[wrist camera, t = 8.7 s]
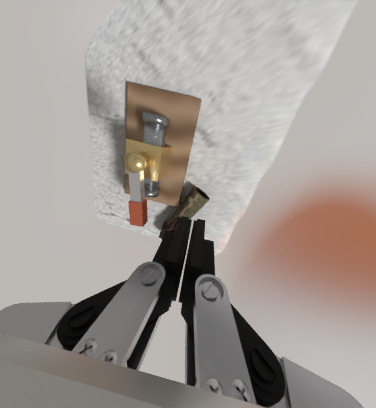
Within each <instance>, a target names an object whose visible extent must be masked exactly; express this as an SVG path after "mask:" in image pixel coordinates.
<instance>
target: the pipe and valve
mask: <svg viewBox="0 0 376 408" xmlns="http://www.w3.org/2000/svg"><path fill="white" fill-rule="evenodd" d="M142 121H144V134H143V140H137V139H126V154H125V155H127V154H128V153H137V152H142V153H145V154H146V155H147V156H148V158H149V160H150V165H149V167H148V168H147V169H146V170H144V193H145V197H148V198H154V197H158V196H159V193H160V188H159V181H160V180H161V179H163V178H164V177H165V176H167V175H168V169H169V163H170V157H171V151H172V147H169V146H165V138H166V131H167V128H169V124H170V119H168V118H166V117H163V116H160V115H156V114H153V113H148V112H143V119H142ZM125 173H126V174H129V173H128V170H127V169H126V168H125Z"/></svg>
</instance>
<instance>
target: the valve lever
mask: <svg viewBox="0 0 376 408" xmlns="http://www.w3.org/2000/svg"><path fill="white" fill-rule="evenodd" d="M123 162H124V166H125V168H126V169H127V170H128V173H129V185H130V197H131V200H130V201H129V213H130V224H131V225H136V226H142V227H143V226H144V225H145V224H146V222H147V221H148V220H147V199H145V193H144V170H146V169H147V168H148V167H149V165H150V160H149V158H148V156H147V155H146V154H145V153H142V152H137V153H128V154H127V155H125V157H124V161H123Z"/></svg>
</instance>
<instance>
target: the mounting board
mask: <svg viewBox="0 0 376 408" xmlns="http://www.w3.org/2000/svg"><path fill="white" fill-rule="evenodd" d="M200 105H201V99H199V98H195V97H191V96H186V95H182V94H178V93H173V92H169V91H165V90H161V89H156V88H152V87H148V86H143V85H139V84H135V83H130V82H128V87H127V122H126V139H137V140H143V134H144V121H142V119H143V112H148V113H153V114H156V115H160V116H163V117H166V118H168V119H170V124H169V128H167V131H166V138H165V146H169V147H172V151H171V157H170V163H169V169H168V175H167V176H165V177H164V178H163V179H161V180H160V181H159V188H160V193H159V196H158V197H154V198H148V197H145V199H149V200H152V201H156V202H160V203H164V204H167V205H171V206H175V207H178V206H179V202H180V198H181V193H182V188H183V184H184V179H185V175H186V170H187V165H188V161H189V156H190V152H191V147H192V142H193V138H194V133H195V128H196V124H197V119H198V115H199V110H200ZM125 193H126V194H130V185H129V174H126V173H125Z"/></svg>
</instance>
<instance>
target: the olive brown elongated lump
mask: <svg viewBox="0 0 376 408" xmlns="http://www.w3.org/2000/svg"><path fill="white" fill-rule="evenodd" d="M208 200H209V197H208V196H207V195H206V194H205V193H204V192H203V191H201V190H200V189H199V188H197V187H194V188H193V190H192V191H191V192H190V194H189V195H188V196H187V198H186V199H185V201H184V202H183V203H182V205H181V206H180V207H179V208H178V210H177V211H176V212H175V214H174V215H173V216H172V217H171V219H170V220H169V221H167V222H164V224H163V226H162V231H161V232H160V236H159V238H161V239H162V240H163V238H164V236H165V234H166V232H171V233H175V232H176V229H177V227H178V224H179V221H180V219H181V216H185V217H189V219H191V218H192V217H193V216H194V215H195V214H196V213H197V212H198V210H199V209H201V208H202V207H203V206H204V205H205V204H206V203H207V202H208Z"/></svg>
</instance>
